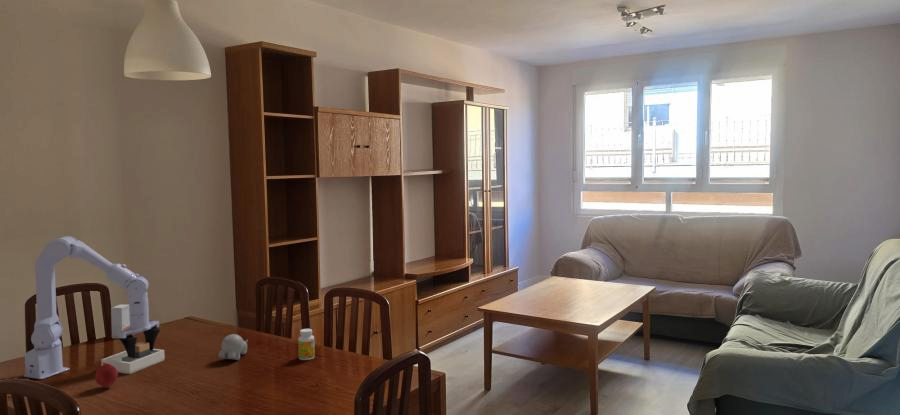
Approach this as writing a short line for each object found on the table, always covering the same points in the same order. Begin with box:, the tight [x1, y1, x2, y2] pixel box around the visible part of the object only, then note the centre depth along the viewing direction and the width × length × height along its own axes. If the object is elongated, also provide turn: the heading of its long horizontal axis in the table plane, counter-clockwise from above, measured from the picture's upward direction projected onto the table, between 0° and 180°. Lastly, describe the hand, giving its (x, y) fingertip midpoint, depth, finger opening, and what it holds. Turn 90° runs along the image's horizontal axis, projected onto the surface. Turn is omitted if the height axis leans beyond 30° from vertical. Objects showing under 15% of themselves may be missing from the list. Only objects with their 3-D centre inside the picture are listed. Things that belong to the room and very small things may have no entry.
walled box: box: [100, 348, 166, 375], centre depth 193 cm, size 14×12×4 cm
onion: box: [94, 362, 119, 389], centre depth 173 cm, size 6×6×8 cm
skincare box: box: [110, 303, 130, 339], centre depth 226 cm, size 6×4×12 cm
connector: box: [133, 341, 150, 359], centre depth 195 cm, size 4×4×6 cm
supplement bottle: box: [297, 328, 316, 361], centre depth 199 cm, size 5×5×10 cm
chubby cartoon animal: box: [217, 333, 249, 361], centre depth 200 cm, size 7×12×8 cm, turn 162°
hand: (140, 353), depth 195 cm, fingers open, 7 cm apart
